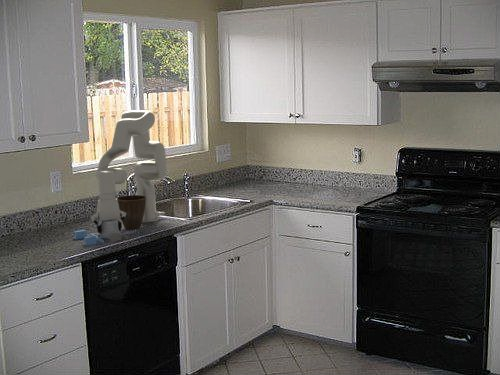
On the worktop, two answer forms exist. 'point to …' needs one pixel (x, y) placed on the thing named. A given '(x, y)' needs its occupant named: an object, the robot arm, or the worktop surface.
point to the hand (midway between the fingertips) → (109, 231)
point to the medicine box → (109, 228)
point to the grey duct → (116, 236)
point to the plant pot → (132, 210)
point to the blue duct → (87, 240)
